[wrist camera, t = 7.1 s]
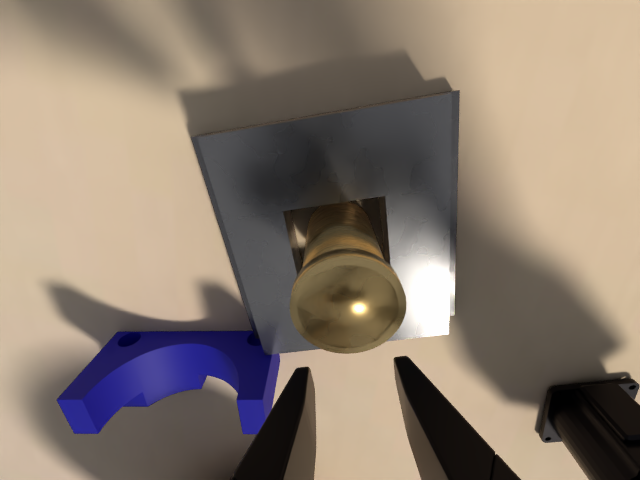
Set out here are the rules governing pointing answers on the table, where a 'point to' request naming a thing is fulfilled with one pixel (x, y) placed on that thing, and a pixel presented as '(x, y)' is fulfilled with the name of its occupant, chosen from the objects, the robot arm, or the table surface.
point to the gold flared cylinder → (345, 284)
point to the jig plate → (335, 187)
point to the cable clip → (171, 375)
